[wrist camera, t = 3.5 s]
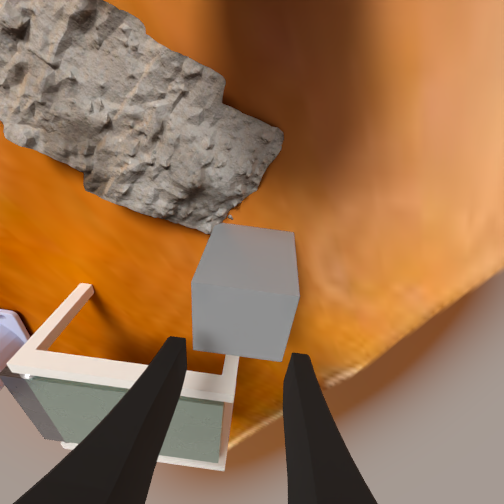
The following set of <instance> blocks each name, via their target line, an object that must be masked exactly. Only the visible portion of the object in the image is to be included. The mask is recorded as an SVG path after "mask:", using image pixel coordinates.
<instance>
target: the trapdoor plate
mask: <svg viewBox="0 0 504 504" xmlns="http://www.w3.org/2000/svg"><path fill="white" fill-rule="evenodd" d="M0 379H1V380H2V382H3V383H4V384H5V386H6V387H7V388H8V390H9V391H10V392H11V394H12V395H13V397H14V398H15V399H16V401H17V402H18V403H19V405H20V406H21V407H22V409H23V410H24V412H25V413H26V414H27V416H28V417H29V418H30V420H31V421H32V422H33V424H34V425H35V426H36V428H37V429H38V431H39V432H40V433H41V435H42V436H43V437H44V439H49V440H56V441H63V442H65V443H77V444H79V443H80V442H81V441H82V440H83V439H84V438H85V437H86V436H87V435H88V434H89V433H90V432H91V431H92V430H93V429H94V428H95V427H96V426H97V425H98V424H99V423H100V422H101V421H102V420H103V419H104V418H105V416H106V415H107V414H108V413H109V412H110V411H111V410H112V409H113V408H114V406H115V405H116V404H117V403H118V402H119V401H120V400H121V398H122V397H123V396H124V395H125V394H126V393H127V392H128V390H129V389H127V388H120V387H113V386H106V385H99V384H91V383H84V382H77V381H70V380H62V379H55V378H48V377H41V376H34V375H26V374H19V373H12V372H11V370H10V369H9V367H8V366H6V367H5V368H4V369H3V370H2V371H1V372H0ZM224 407H225V402H221V401H214V400H207V399H200V398H192V397H185V396H180V398H179V400H178V403H177V406H176V409H175V412H174V415H173V417H172V420H171V423H170V426H169V429H168V431H167V434H166V437H165V440H164V442H163V445H162V448H161V451H160V454H159V455H162V456H169V457H176V458H184V459H191V460H198V461H205V462H212V463H218V462H219V455H220V449H221V439H222V428H223V417H224Z"/></svg>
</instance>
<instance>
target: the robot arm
mask: <svg viewBox="0 0 504 504" xmlns="http://www.w3.org/2000/svg"><path fill="white" fill-rule="evenodd" d="M29 339H30V335H29V334H28V332H27V330H26V328H25V326H24V324H23V323H22V321H21V319H20V317H19V315H18V314H17V313H16V312H14V311H11V310H4V309H0V372H1V371H2V370H3V369H4V368H5V367H6V366H7V364H6V363H7V362H8V361H9V360H10V359H11V358H12V357H13V356H14V355H15V354H16V353H17V351H18V350H19V349H20V348H21V347H22V346H23V345H24V344H25V343H26V342H27V341H28V340H29ZM186 371H187V357H186V338H179V337H172V336H170V337H168V338H167V340H166V341H165V343H164V345H163V346H162V347H161V349H160V350H159V352H158V353H157V355H156V356H155V357H154V359H153V360H152V361H151V363H150V364H149V365H148V367H147V368H146V369H145V371H144V372H143V373H142V374H141V376H140V377H139V378H138V379H137V381H136V382H135V383H134V384H133V386H132V387H131V388H130V389H129V390H128V392H127V393H126V394H125V395H124V396H123V397H122V398H121V400H120V401H119V402H118V403H117V404H116V405H115V406H114V408H113V409H112V410H111V411H110V412H109V413H108V414H107V415H106V416H105V418H104V419H103V420H102V421H101V422H100V423H99V424H98V425H97V426H96V427H95V428H94V429H93V430H92V431H91V432H90V433H89V434H88V435H87V436H86V437H85V438H84V439H83V440H82V441H81V442H80V443H79V444H78V445H77V446H76V447H75V448H74V449H73V450H72V451H71V452H70V453H69V454H68V455H67V456H66V457H65V458H64V459H63V460H62V461H61V462H60V463H58V464H57V465H56V466H55V467H54V468H53V469H52V470H51V471H50V472H49V473H48V474H46V475H45V476H44V477H43V478H42V479H41V480H40V481H39V482H37V483H36V484H35V485H34V486H33V487H32V488H30V489H29V490H28V491H27V492H26V493H25V494H24V495H22V496H21V497H20V498H19V499H18V500H17V501H16V502H14V503H13V504H145V501H146V498H147V494H148V490H149V487H150V483H151V479H152V475H153V472H154V468H155V466H156V463H157V460H158V456H159V454H160V451H161V448H162V445H163V442H164V440H165V437H166V434H167V431H168V429H169V426H170V423H171V420H172V417H173V415H174V412H175V409H176V406H177V403H178V400H179V398H180V395H181V391H182V387H183V383H184V379H185V375H186ZM4 385H5V384H4V383H3V382H2V380H1V379H0V390H1V389H2V388H3V386H4ZM283 418H284V433H285V447H286V461H287V473H288V474H287V476H288V504H377V502H376V500H375V498H374V497H373V495H372V493H371V491H370V490H369V488H368V486H367V485H366V483H365V481H364V479H363V477H362V476H361V474H360V472H359V470H358V468H357V466H356V464H355V463H354V461H353V459H352V457H351V455H350V453H349V451H348V449H347V447H346V445H345V443H344V441H343V439H342V437H341V435H340V433H339V431H338V428H337V426H336V424H335V422H334V420H333V417H332V415H331V413H330V411H329V408H328V406H327V403H326V401H325V399H324V396H323V394H322V391H321V389H320V386H319V383H318V381H317V378H316V375H315V372H314V369H313V366H312V363H311V360H310V357H309V356H308V355H307V354H299V353H292V355H291V359H290V362H289V365H288V369H287V372H286V375H285V379H284V386H283Z"/></svg>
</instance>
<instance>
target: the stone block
mask: <svg viewBox="0 0 504 504" xmlns="http://www.w3.org/2000/svg"><path fill="white" fill-rule="evenodd" d="M191 288H192V326H193V350H198V351H205V352H212V353H220V354H227V355H234V356H241V357H249V358H256V359H263V360H271V361H278V362H282V359H283V355H284V352H285V348H286V345H287V341H288V337H289V334H290V330H291V327H292V323H293V319H294V316H295V312H296V309H297V305H298V301H299V298H300V293H299V282H298V271H297V260H296V249H295V238H294V232H288V231H280V230H273V229H265V228H257V227H250V226H242V225H235V224H227V223H220V224H218V225H215V226H214V228H213V231H212V233H211V236H210V238H209V240H208V243H207V245H206V248H205V250H204V253H203V255H202V257H201V260H200V262H199V265H198V267H197V270H196V272H195V274H194V277H193V279H192V282H191Z"/></svg>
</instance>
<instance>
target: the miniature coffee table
mask: <svg viewBox="0 0 504 504" xmlns="http://www.w3.org/2000/svg"><path fill="white" fill-rule="evenodd" d="M93 294H94V290H93V287H92V284H85V283H80V284H79V285H78V287H77V288H76V289H75V290H74V291H73V292H72V293H71V294H70V295H69V296H68V297H67V298H66V300H65V301H64V302H63V303H62V304H61V305H60V306H59V307H58V308H57V309H56V310H55V311H54V313H53V314H52V315H51V316H50V317H49V318H48V319H47V320H46V321H45V322H44V323H43V324H42V326H41V327H40V328H39V329H38V330H37V331H36V332H35V333H34V334H33V335H32V336H31V337H30V339H29V340H28V341H27V342H26V343H25V344H24V345H23V346H22V347H21V348H20V349H19V350H18V351H17V353H16V354H15V355H14V356H13V357H12V358H11V359H10V360H9V361H8V362H7V363H6V364H7V366H8V367H9V369H10V370H11V372H12V373H19V374H26V375H34V376H41V377H48V378H55V379H62V380H70V381H77V382H84V383H91V384H99V385H106V386H113V387H120V388H127V389H130V388H131V387H132V386H133V384H134V383H135V382H136V381H137V379H138V378H139V377H140V376H141V374H142V373H143V372H144V371H145V369H146V368H147V367H148V365H144V364H137V363H130V362H122V361H115V360H108V359H101V358H93V357H86V356H79V355H72V354H64V353H57V352H50V351H47V349H48V348H49V347H50V346H51V345H52V343H53V342H54V341H55V340H56V338H57V337H58V336H59V335H60V334H61V332H62V331H63V330H64V329H65V328H66V326H67V325H68V324H69V323H70V321H71V320H72V319H73V318H74V317H75V315H76V314H77V313H78V312H79V311H80V309H81V308H82V307H83V306H84V305H85V303H86V302H87V301H88V300H89V298H90V297H91V296H92V295H93ZM238 363H239V356H234V355H227V354H226V356H225V362H224V367H223V372H222V375H217V374H210V373H202V372H195V371H188V370H187V371H186V375H185V379H184V383H183V387H182V391H181V395H180V396H185V397H192V398H200V399H207V400H214V401H221V402H225V407H224V417H223V428H222V439H221V449H220V455H219V462H218V463H212V462H205V461H198V460H191V459H184V458H176V457H169V456H162V455H159V456H158V460H157V462H164V463H171V464H177V465H185V466H191V467H198V468H206V469H213V470H220V471H224V470H225V462H226V455H227V448H228V441H229V433H230V426H231V419H232V411H233V404H234V396H235V389H236V382H237V381H236V377H237V370H238ZM61 445H62V447H63V448H64V449H71V450H73V449H74V448H75V447H76V446H77V445H78V444H77V443H65V442H63V441H62V442H61Z"/></svg>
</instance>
